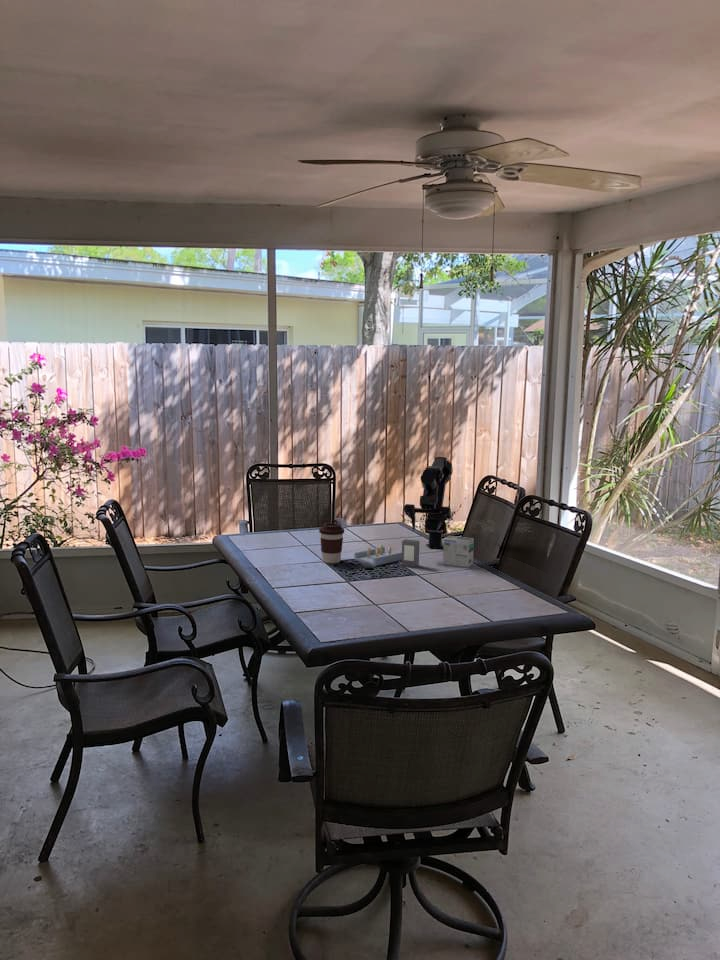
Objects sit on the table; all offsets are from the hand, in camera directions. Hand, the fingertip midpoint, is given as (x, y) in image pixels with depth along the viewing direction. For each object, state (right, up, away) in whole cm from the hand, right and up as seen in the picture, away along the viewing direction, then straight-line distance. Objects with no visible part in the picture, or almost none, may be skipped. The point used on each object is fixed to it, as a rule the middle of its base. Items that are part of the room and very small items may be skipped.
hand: (424, 530), depth 304 cm
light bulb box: (+13, -14, -1) cm, 19 cm away
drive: (-6, -14, -4) cm, 15 cm away
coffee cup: (-37, -12, 0) cm, 39 cm away
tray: (-18, -12, +4) cm, 22 cm away
